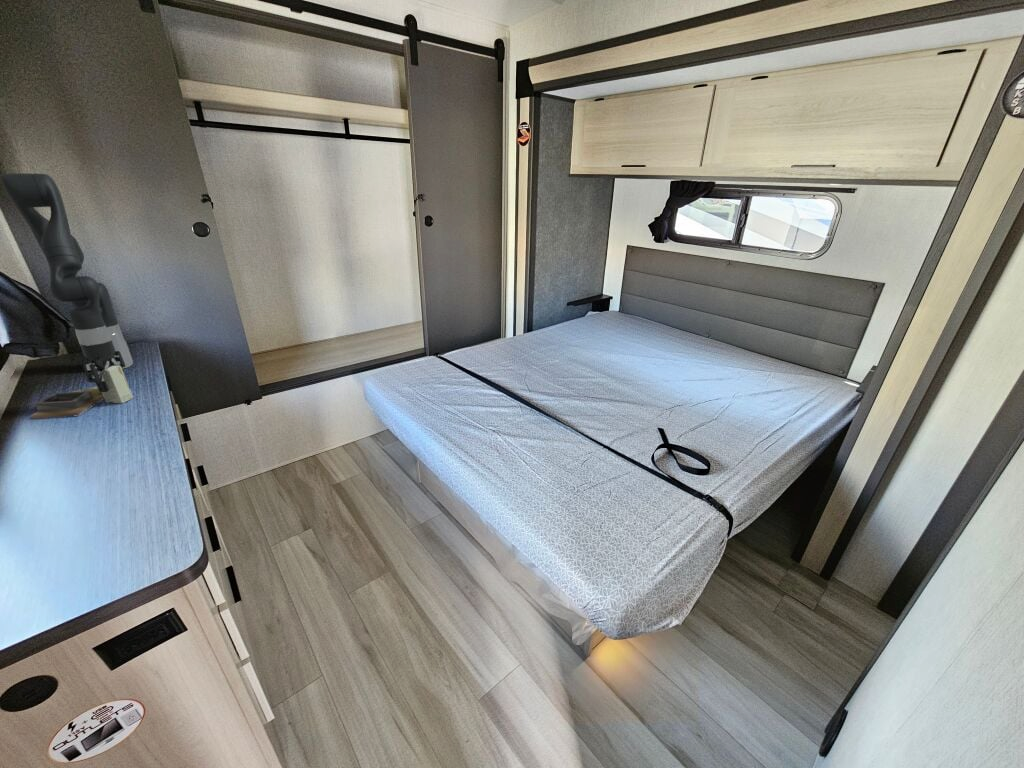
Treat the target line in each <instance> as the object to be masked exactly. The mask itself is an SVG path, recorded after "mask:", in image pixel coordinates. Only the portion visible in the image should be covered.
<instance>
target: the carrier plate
mask: <svg viewBox="0 0 1024 768" xmlns="http://www.w3.org/2000/svg"><path fill="white" fill-rule="evenodd" d="M102 399H104V396H103V394H102V392H100V391H99V389H98V387H97V386H92V387H89V388H85V389H83V390H72V391H67V392H54V393H52V394H50V395H48V396H46V397H45V398H42V399H41V400H39V401H38V402H36V403H35V407H36V410H37V411H36V412H34V413H32V414H30V417H31V419H32V420H35V419H38V418H39V419H51V418H50V417H57V418H65V417H64V416H74V415H79V414H80V413H82V412H83V411H85V410H86V409H88V408H90V407H91V406H93V405H94V404H96V403H97V402H99V401H101V400H102ZM104 400H105V399H104ZM102 401H103V400H102ZM102 401H101V402H102ZM99 403H100V402H99ZM96 405H97V404H96ZM93 407H94V406H93ZM90 409H91V408H90ZM48 417H49V418H48Z"/></svg>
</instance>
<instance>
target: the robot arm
mask: <svg viewBox="0 0 1024 768" xmlns="http://www.w3.org/2000/svg"><path fill="white" fill-rule="evenodd" d="M0 181H1V185H2V186H3V189H4V190H5V193H6V194H7V196H8V198H9V199H10V200H11V202H12V203H13V205H14V206H15V208H16V209H17V210H18V212H19V214H20V215H21V217H22V219H24V221H25V222H26V224H27V226H28V227H29V229H30V230H31V232H32V235H33V237H34V239H35V241H36V242H37V244H38V246H39V248H40V249H41V251H42V253H43V254H44V257H45V258H46V259H45V260H46V262H47V264H48V268H49V271H50V272H49V273H50V277H49V278H50V280H49V281H50V282H49V289H50V293H51V295H52V297H53V298H55V299H56V300H58V301H60V302H62V303H68V302H70V303H71V304H72V305H73V307H75V308H72V309H71V310H69V312H68V314H69V318H70V321H71V323H72V326H73V328H74V330H75V337H76V338H77V341H78V344H79V346H80V348H81V350H82V353H83V356H84V357H85V358H89V360H90V361H89V363H88V364H87V363H85V364H83V365H82V367H83V370H84V373H85V376H86V379H87V381H88V383H95V384H96V387H98V389H99V391H100V392H108V391H109V389H108V387H107V384H106V381H104V380H105V375H107V371H106V370H108V368H109V367H111V366H113V365H114V366H121V369H122V371H123V370H124V369H126V368H127V369H128V368H129V367H131V366H133V363H134V360H133V357H132V354H131V352H130V348H129V347H128V343H127V341H126V340H125V337H124V335H123V333H122V330H121V327H120V324H119V321H118V319H117V315H116V313H115V309H114V307H113V303H112V300H111V296H110V293H109V290H108V288H107V287H106V285H105V284H104V283H101V282H98V281H96V280H95V279H94V277H91V276H88V275H87V276H86V275H85V276H83V275H81V276H77V274H78V272H79V271H81V270H82V268H83V264H84V261H85V255H84V252H83V251H82V248H81V247H80V245H79V243H78V239H76V238H75V236H74V235H73V234H72V232H71V229H70V228H71V227H70V224H69V219H68V215H67V212H66V209H65V205H64V200H63V197H62V194H61V192H60V189H59V188H58V185H57V183H56V181H54V179H53V178H52V176H50V175H49V174H46V173H29V172H28V173H19V172H18V173H4V174H1V176H0ZM36 208H49V209H50V218H49V219H48V218H45V216H43V215H41V214H40V213H39V212H38V211H37V210H36ZM97 370H98V371H102V372H97ZM99 375H101V376H100V378H99Z"/></svg>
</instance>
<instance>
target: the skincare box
mask: <svg viewBox="0 0 1024 768" xmlns="http://www.w3.org/2000/svg"><path fill="white" fill-rule="evenodd" d="M106 371H107V375H105V380H104V381H106V384H107V387H108V389H109V391H108V392H102V394H103V396H104V398H105V399H104V400H105V403H108V402H113V403H112V404H124V403H127V402H128V401H130V400H133V399H134V396H133V394H132V391H131V389H130V386H129V383H128V381H127V379H126V376H125V373H124V372H123V370H122V369H121V366H114V365H113V366H111V367H109V368H108V370H106ZM97 372H102V371H98V370H97ZM100 376H101V375H99V378H100Z"/></svg>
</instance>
